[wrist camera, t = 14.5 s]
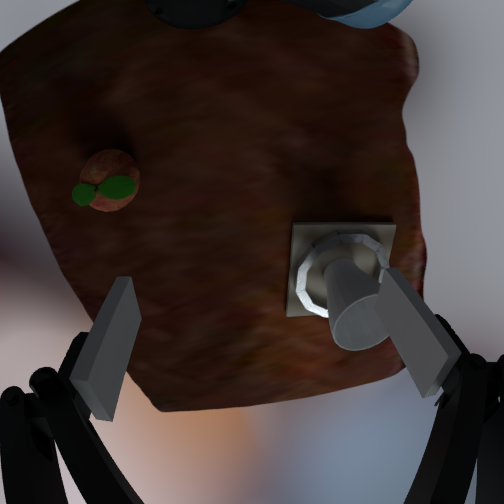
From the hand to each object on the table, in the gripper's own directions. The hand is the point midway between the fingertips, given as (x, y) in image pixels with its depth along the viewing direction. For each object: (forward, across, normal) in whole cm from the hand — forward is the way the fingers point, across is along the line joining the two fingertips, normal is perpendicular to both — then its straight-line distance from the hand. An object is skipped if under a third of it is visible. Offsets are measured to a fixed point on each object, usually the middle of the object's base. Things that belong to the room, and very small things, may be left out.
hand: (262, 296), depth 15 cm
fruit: (+31, -18, 0) cm, 36 cm away
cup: (+30, +17, -18) cm, 38 cm away
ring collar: (+29, +17, -18) cm, 39 cm away
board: (+31, +17, -18) cm, 39 cm away
